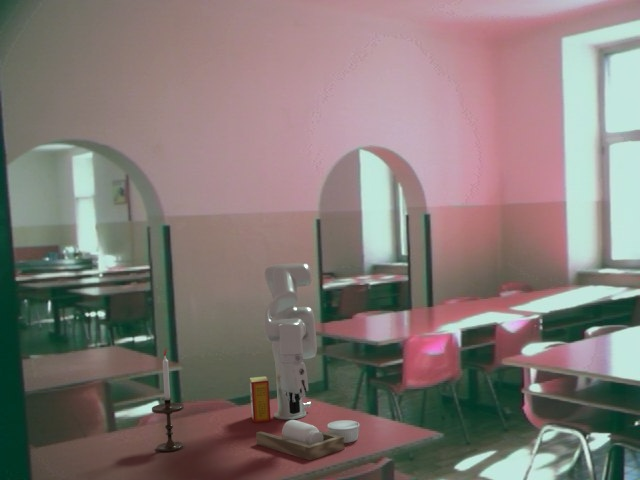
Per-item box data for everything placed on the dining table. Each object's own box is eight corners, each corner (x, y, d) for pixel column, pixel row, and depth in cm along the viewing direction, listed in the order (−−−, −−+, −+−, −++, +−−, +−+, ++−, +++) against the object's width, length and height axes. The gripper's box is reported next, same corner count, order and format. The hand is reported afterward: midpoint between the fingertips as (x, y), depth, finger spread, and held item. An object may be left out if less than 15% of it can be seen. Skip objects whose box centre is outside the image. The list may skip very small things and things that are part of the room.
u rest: (290, 434, 255) (289, 423, 255) (344, 448, 234) (343, 436, 234) (256, 444, 245) (256, 432, 245) (310, 460, 224) (309, 447, 224)
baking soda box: (251, 417, 283) (249, 376, 282) (268, 415, 284) (265, 375, 284) (253, 423, 273) (251, 381, 273) (270, 421, 274) (268, 379, 274)
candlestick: (191, 443, 250) (185, 344, 250) (177, 453, 239) (171, 349, 239) (163, 443, 253) (157, 344, 253) (148, 452, 242) (142, 350, 242)
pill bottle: (303, 433, 248) (330, 442, 236) (286, 447, 243) (313, 457, 232) (294, 414, 246) (321, 422, 234) (277, 428, 241) (303, 437, 229)
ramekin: (357, 444, 238) (356, 428, 238) (325, 444, 241) (324, 428, 240) (362, 435, 249) (361, 419, 249) (331, 434, 251) (330, 420, 251)
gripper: (314, 358, 237) (317, 413, 237) (286, 355, 248) (289, 407, 248) (297, 362, 232) (300, 418, 232) (269, 358, 243) (272, 412, 243)
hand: (294, 412), depth 240 cm, fingers closed
